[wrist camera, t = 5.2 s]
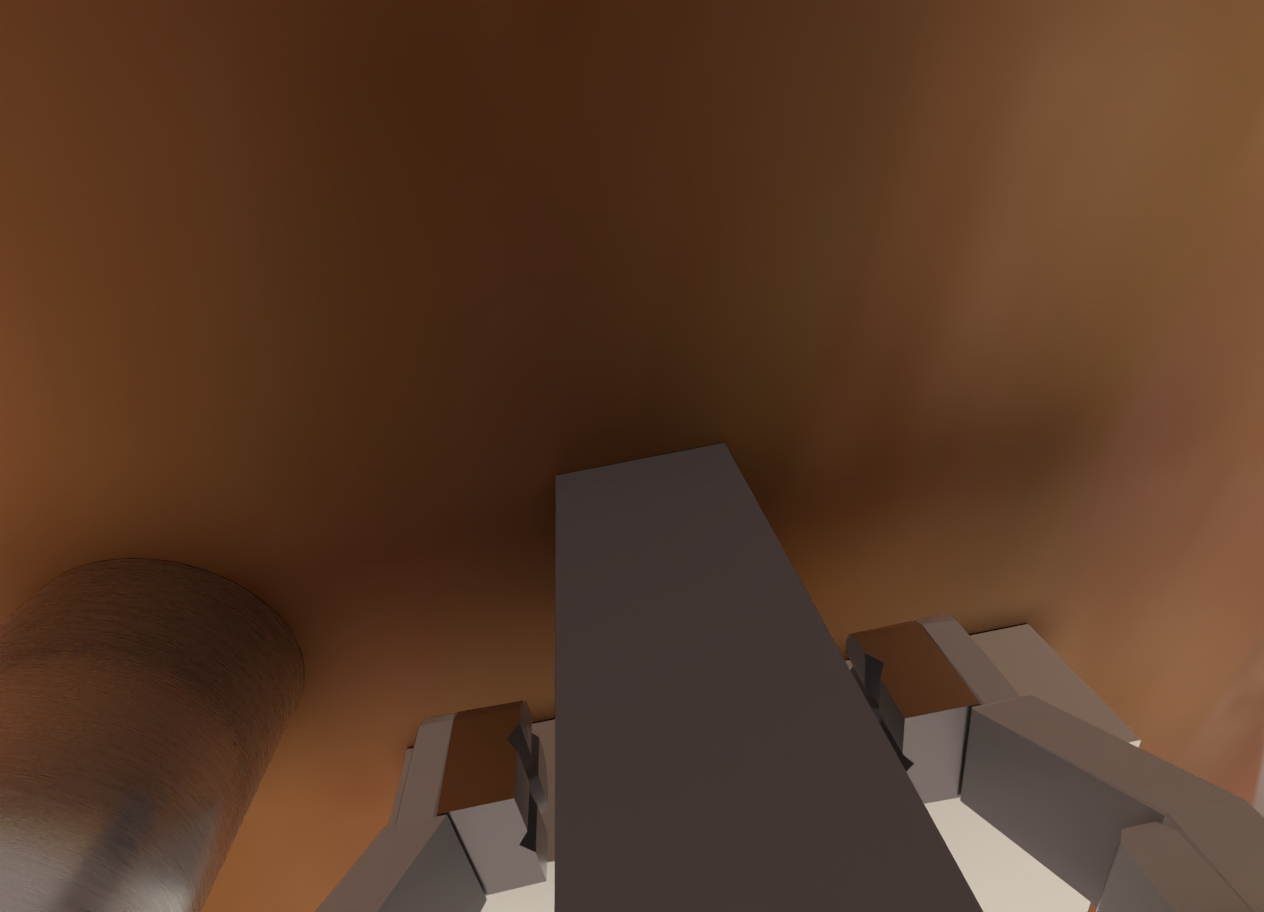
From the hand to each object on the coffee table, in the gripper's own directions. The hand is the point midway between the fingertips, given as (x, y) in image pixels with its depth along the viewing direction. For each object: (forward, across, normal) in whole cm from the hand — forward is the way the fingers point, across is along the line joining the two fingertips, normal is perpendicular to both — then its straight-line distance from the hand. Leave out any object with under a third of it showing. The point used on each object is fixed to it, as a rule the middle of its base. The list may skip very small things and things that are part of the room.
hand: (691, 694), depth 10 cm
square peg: (+5, 0, 0) cm, 5 cm away
